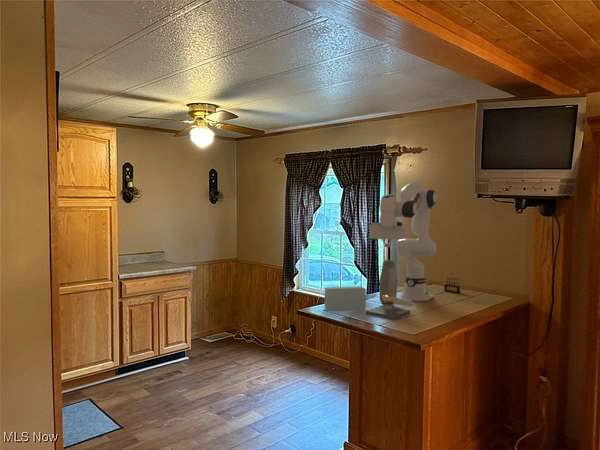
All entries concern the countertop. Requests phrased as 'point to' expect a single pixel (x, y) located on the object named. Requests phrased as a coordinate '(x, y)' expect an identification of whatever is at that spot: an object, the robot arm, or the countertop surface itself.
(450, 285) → the ammunition clip
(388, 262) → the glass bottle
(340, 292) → the bar with end hole
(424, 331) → the countertop surface
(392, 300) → the gold knob with bar
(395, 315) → the plate
